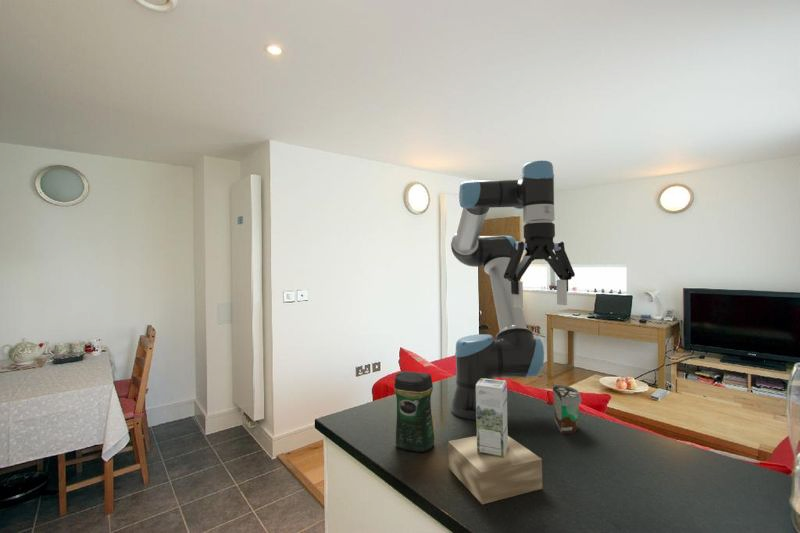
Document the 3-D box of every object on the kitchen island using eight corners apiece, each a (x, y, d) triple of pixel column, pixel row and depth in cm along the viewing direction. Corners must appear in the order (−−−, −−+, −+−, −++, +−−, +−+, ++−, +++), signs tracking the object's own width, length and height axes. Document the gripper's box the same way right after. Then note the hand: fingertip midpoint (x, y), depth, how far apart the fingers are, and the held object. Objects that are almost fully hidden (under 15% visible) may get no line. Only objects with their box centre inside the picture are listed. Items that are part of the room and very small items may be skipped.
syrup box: (508, 446, 81) (507, 379, 82) (504, 459, 76) (502, 387, 76) (482, 441, 84) (481, 376, 84) (476, 453, 79) (474, 384, 79)
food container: (588, 437, 98) (587, 399, 98) (562, 435, 99) (561, 398, 99) (575, 418, 110) (574, 384, 110) (553, 417, 111) (552, 383, 111)
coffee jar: (438, 442, 97) (436, 370, 97) (426, 456, 90) (425, 378, 90) (404, 435, 101) (402, 366, 101) (391, 448, 94) (389, 374, 94)
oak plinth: (448, 468, 84) (448, 441, 84) (501, 456, 89) (501, 431, 89) (482, 504, 71) (481, 472, 71) (542, 488, 76) (541, 458, 76)
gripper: (506, 220, 88) (508, 310, 88) (588, 222, 97) (590, 304, 96) (488, 223, 95) (490, 307, 95) (566, 225, 104) (568, 302, 103)
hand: (540, 306), depth 96 cm, fingers open, 13 cm apart
